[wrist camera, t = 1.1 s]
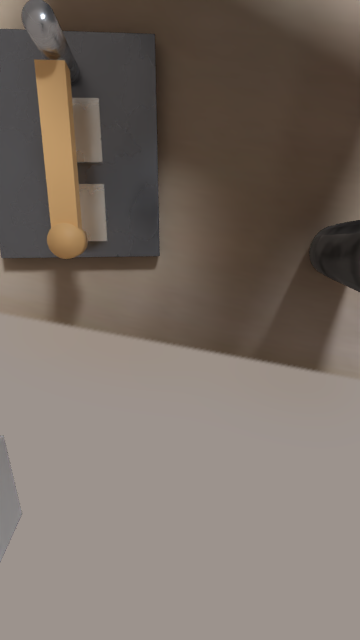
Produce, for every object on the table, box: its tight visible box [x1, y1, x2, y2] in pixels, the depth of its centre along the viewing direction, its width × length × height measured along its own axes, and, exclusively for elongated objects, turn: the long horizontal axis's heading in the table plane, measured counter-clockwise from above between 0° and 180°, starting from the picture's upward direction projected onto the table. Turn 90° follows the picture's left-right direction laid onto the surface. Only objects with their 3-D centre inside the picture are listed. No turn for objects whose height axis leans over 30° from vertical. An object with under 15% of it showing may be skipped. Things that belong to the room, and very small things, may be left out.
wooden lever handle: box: [34, 59, 88, 259], centre depth 23 cm, size 12×2×2 cm, turn 0°
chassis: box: [0, 0, 160, 258], centre depth 24 cm, size 16×13×8 cm
